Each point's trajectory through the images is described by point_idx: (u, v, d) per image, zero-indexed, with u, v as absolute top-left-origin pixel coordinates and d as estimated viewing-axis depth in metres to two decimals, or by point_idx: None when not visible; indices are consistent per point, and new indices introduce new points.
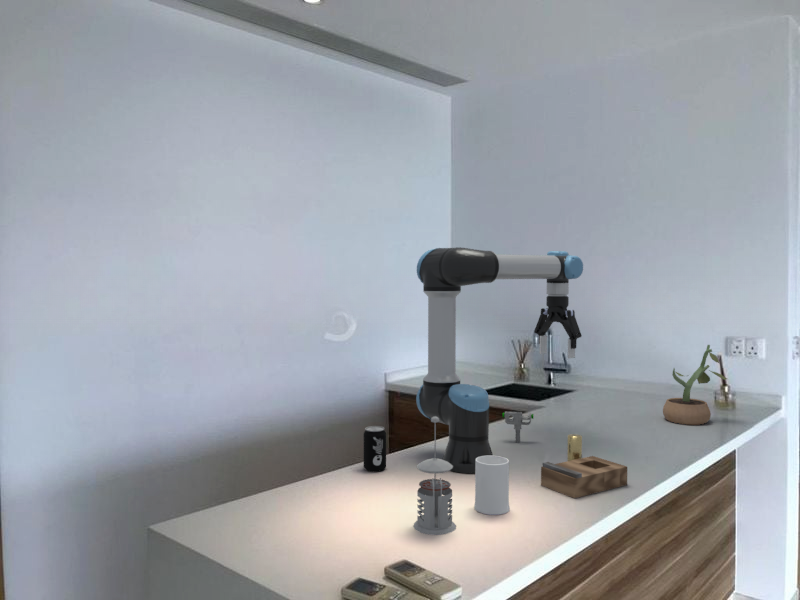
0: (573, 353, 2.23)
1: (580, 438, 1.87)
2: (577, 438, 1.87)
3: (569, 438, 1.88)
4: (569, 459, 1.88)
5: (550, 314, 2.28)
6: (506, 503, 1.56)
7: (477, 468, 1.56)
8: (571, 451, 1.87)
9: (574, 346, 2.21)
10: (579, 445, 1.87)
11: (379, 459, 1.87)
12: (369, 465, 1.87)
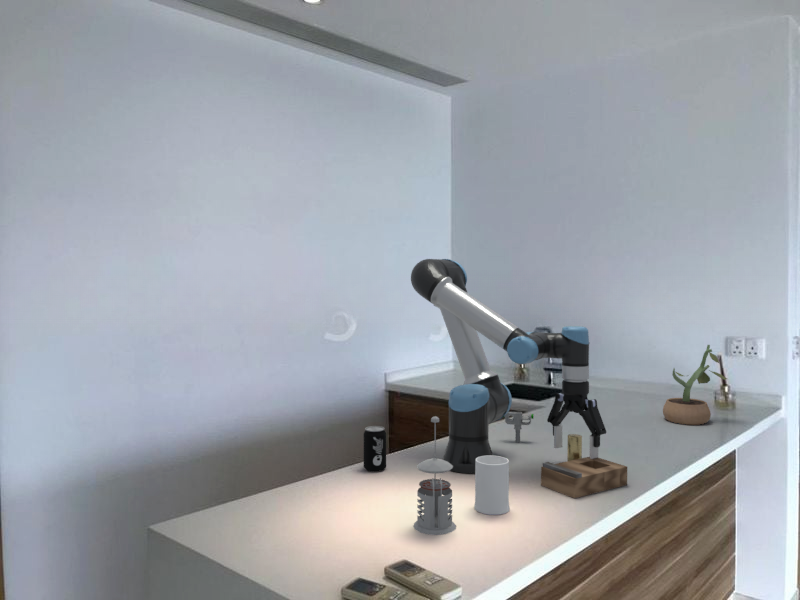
0: (596, 452, 1.83)
1: (580, 438, 1.87)
2: (577, 438, 1.87)
3: (569, 438, 1.88)
4: (569, 459, 1.88)
5: (567, 402, 1.89)
6: (506, 503, 1.56)
7: (477, 468, 1.56)
8: (571, 451, 1.87)
9: (597, 444, 1.82)
10: (579, 445, 1.87)
11: (379, 459, 1.87)
12: (369, 465, 1.87)
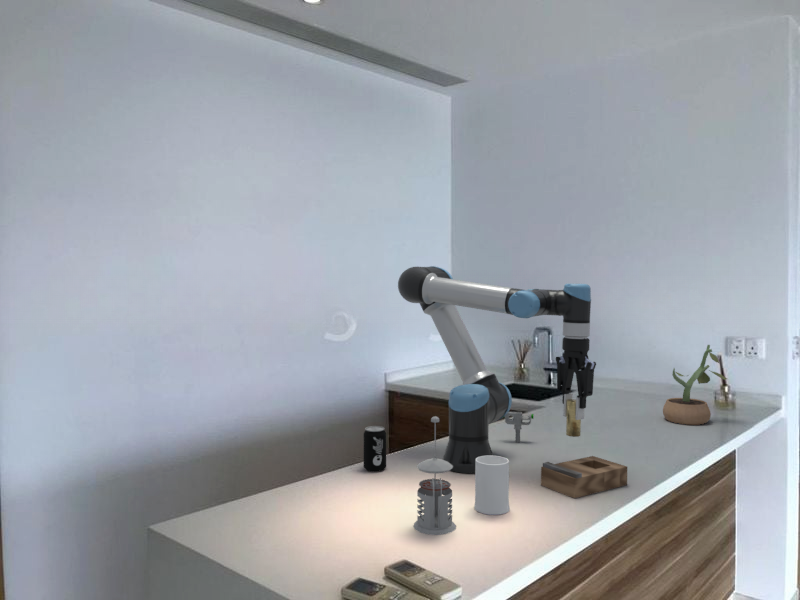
0: (582, 413, 1.87)
1: None
2: None
3: (568, 403, 1.88)
4: (568, 424, 1.88)
5: (567, 360, 1.88)
6: (506, 503, 1.56)
7: (477, 468, 1.56)
8: (571, 416, 1.87)
9: (583, 406, 1.85)
10: None
11: (379, 459, 1.87)
12: (369, 465, 1.87)
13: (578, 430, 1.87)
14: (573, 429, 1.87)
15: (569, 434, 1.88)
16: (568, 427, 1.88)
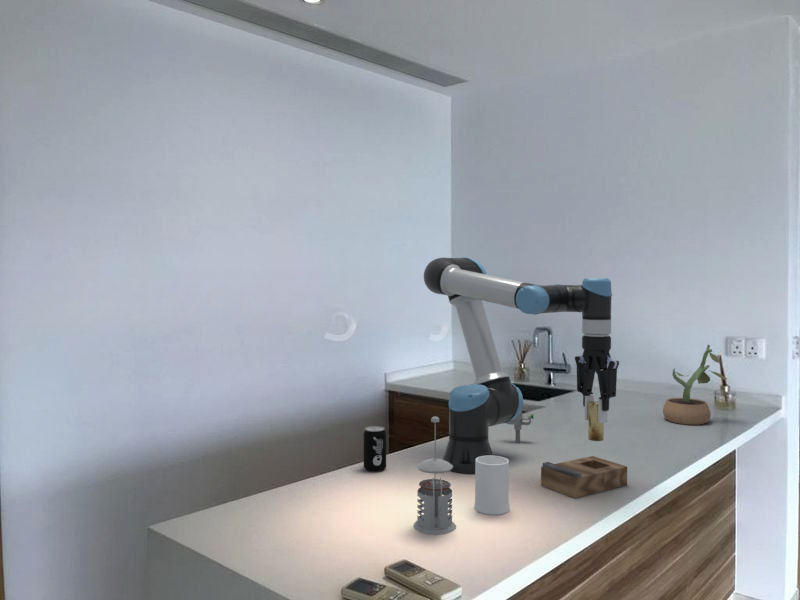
0: (605, 416, 1.75)
1: None
2: None
3: (590, 405, 1.76)
4: (590, 427, 1.76)
5: (587, 359, 1.76)
6: (506, 503, 1.56)
7: (477, 468, 1.56)
8: (593, 419, 1.75)
9: (606, 408, 1.74)
10: None
11: (379, 459, 1.87)
12: (369, 465, 1.87)
13: (601, 434, 1.75)
14: (595, 433, 1.75)
15: (591, 438, 1.76)
16: (590, 431, 1.76)
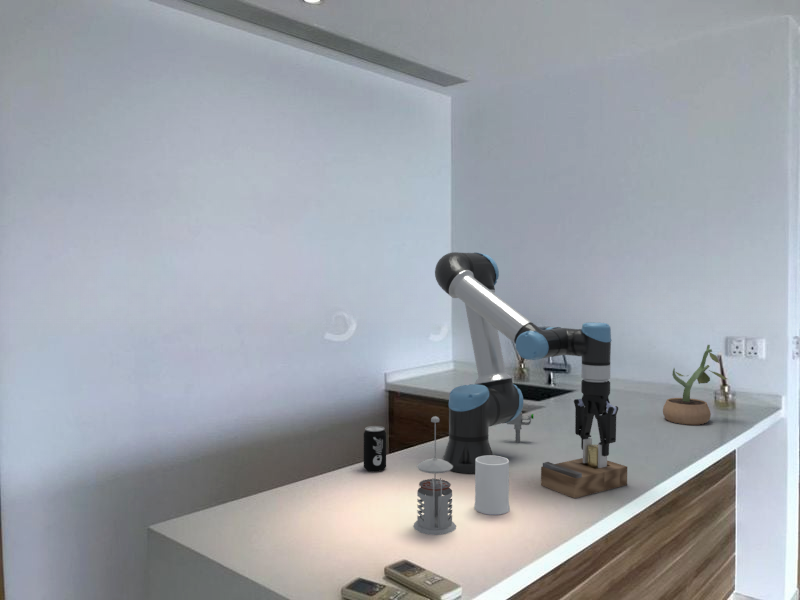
0: (605, 461, 1.75)
1: None
2: None
3: (590, 449, 1.77)
4: None
5: (587, 404, 1.77)
6: (506, 503, 1.56)
7: (477, 468, 1.56)
8: (592, 463, 1.76)
9: (606, 453, 1.74)
10: None
11: (379, 459, 1.87)
12: (369, 465, 1.87)
13: None
14: None
15: None
16: None
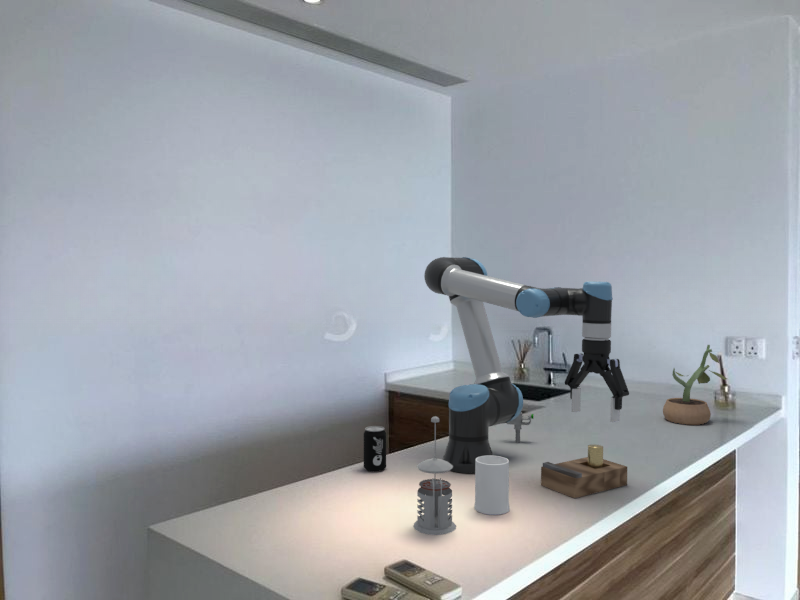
0: (617, 415, 1.71)
1: (601, 449, 1.76)
2: (598, 449, 1.75)
3: (590, 449, 1.77)
4: None
5: (587, 363, 1.77)
6: (506, 503, 1.56)
7: (477, 468, 1.56)
8: (592, 463, 1.76)
9: (619, 407, 1.70)
10: (600, 456, 1.76)
11: (379, 459, 1.87)
12: (369, 465, 1.87)
13: None
14: None
15: None
16: None
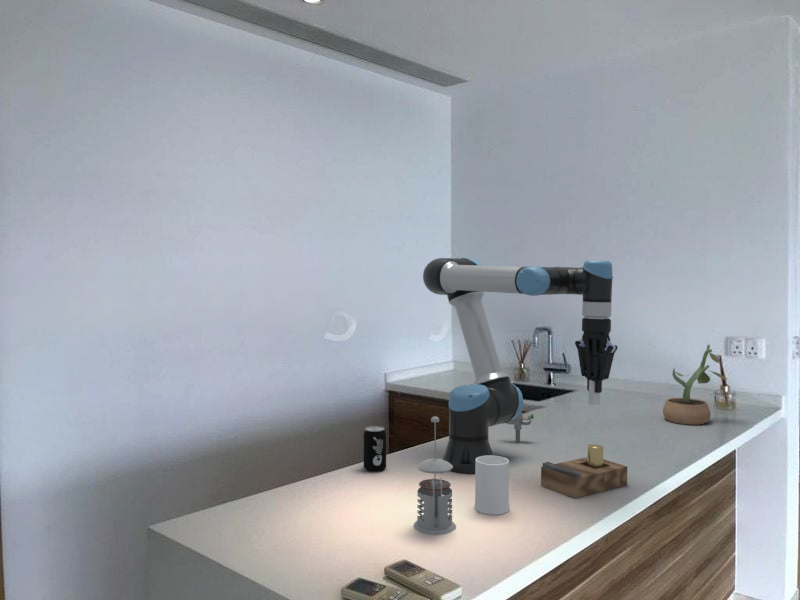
0: (597, 398, 1.77)
1: (601, 449, 1.76)
2: (598, 449, 1.75)
3: (589, 449, 1.77)
4: None
5: (587, 342, 1.76)
6: (506, 503, 1.56)
7: (477, 468, 1.56)
8: (592, 463, 1.76)
9: (599, 390, 1.75)
10: (600, 456, 1.76)
11: (379, 459, 1.87)
12: (369, 465, 1.87)
13: None
14: None
15: None
16: None
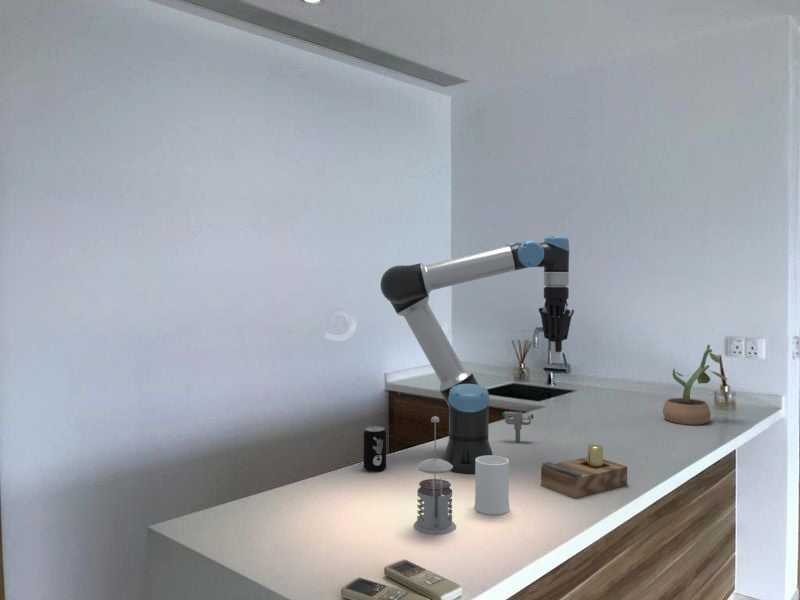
0: (558, 357, 2.03)
1: (601, 449, 1.76)
2: (598, 449, 1.75)
3: (589, 449, 1.77)
4: None
5: (548, 307, 2.02)
6: (506, 503, 1.56)
7: (477, 468, 1.56)
8: (592, 463, 1.76)
9: (559, 349, 2.01)
10: (600, 456, 1.76)
11: (379, 459, 1.87)
12: (369, 465, 1.87)
13: None
14: None
15: None
16: None
